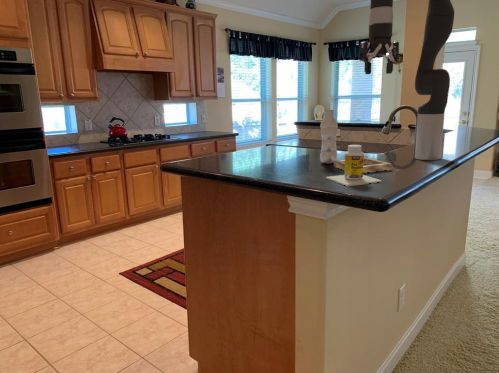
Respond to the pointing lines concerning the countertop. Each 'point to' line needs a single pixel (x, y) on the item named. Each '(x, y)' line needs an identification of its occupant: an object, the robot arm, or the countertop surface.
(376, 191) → the countertop surface
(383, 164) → the beech cradle
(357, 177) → the supplement bottle
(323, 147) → the plastic bottle
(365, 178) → the white square pad
